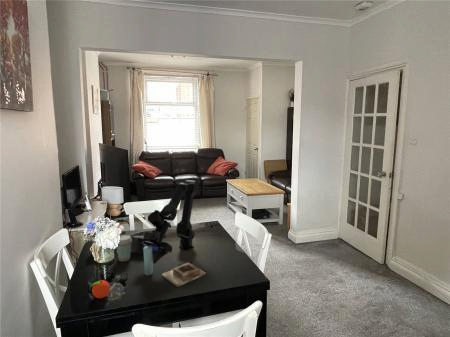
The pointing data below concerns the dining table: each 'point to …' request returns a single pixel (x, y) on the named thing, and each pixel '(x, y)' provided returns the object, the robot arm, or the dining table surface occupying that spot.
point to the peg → (148, 260)
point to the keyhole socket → (183, 274)
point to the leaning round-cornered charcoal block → (136, 247)
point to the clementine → (100, 289)
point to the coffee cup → (124, 248)
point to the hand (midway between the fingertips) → (146, 261)
